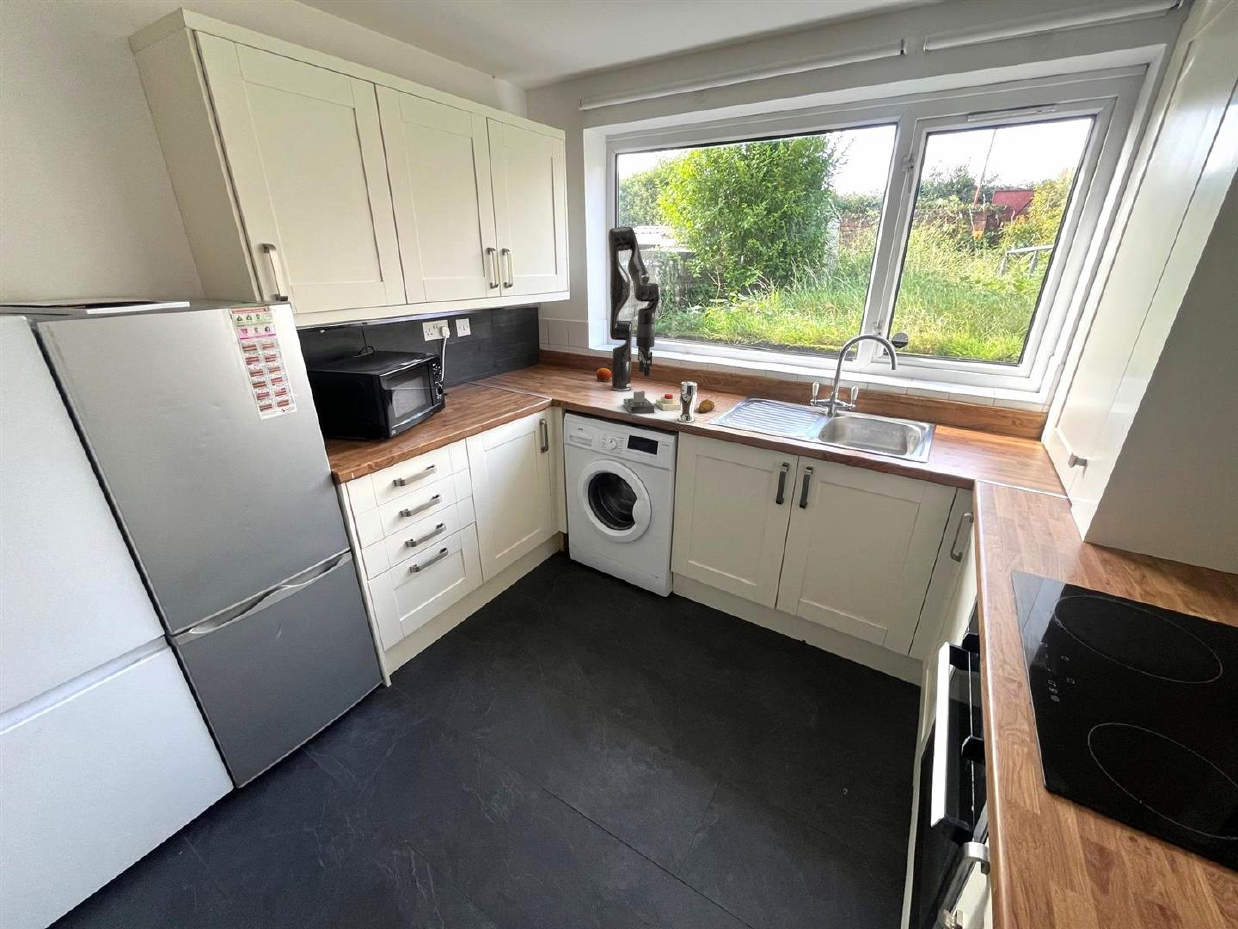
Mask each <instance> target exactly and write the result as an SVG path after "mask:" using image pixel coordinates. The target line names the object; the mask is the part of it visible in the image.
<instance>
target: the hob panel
mask: <svg viewBox="0 0 1238 929" xmlns="http://www.w3.org/2000/svg"><path fill="white" fill-rule="evenodd" d="M623 406H624V408H625V409H626V410H627V411H628V412H629V413H630V414H632V415H634V414H654V413H655V405H654V404H653V403H652V402H651V401H650V400H648V399H647V397H645V398H644V402H641V403H634V402H633V397H632V398H623Z"/></svg>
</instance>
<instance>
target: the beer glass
mask: <svg viewBox="0 0 1238 929" xmlns="http://www.w3.org/2000/svg"><path fill="white" fill-rule="evenodd" d="M678 397H679V398H678V399H679V404H680V411H679V416H678V420H679V422H680V421H681V422H683V423H692V422H694V421H695V415H694V412H695V407H696V403H697V399H698V398H697V397H698V383H697V382H695V381H681V382H680V386H679V396H678Z"/></svg>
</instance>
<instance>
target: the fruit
mask: <svg viewBox="0 0 1238 929" xmlns="http://www.w3.org/2000/svg"><path fill="white" fill-rule="evenodd" d="M595 374H596V379H597V381H598V382H605V383H607V382H608V381H609V380H610V379H611V378H612V371H611V370H610V369H608V368H607V367H606V368H605V367H601V368H599V369H597V370H596V373H595Z"/></svg>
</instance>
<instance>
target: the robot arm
mask: <svg viewBox="0 0 1238 929" xmlns="http://www.w3.org/2000/svg"><path fill="white" fill-rule="evenodd" d="M607 242H608V254H609V255H608V256H609V297H610V299H609V300H610V316H609V317H610V320H609V336H610V339H611V340H614V341H624V343H622V344H621V345H619V346H615V347H613V349H612V361H611V362H612V368H611V370H612V371H611V373H612V374H611V379H612V380H611V390H613V391H617V392H627V391H630V390H631V388H632V387H631V385H632V383H631V382H632V347H633V346H632V345H633V343H632V342H633V331H634V327H633V326H634V325H633V322H632V321H631V320H625V319H624V320H621V319H620V320H618V316H619V314H620V312H622V310H623V307H625V305H626V303H627V302H628V301H629V299H630V296H631V281H632V285H633V286H632V287H633V296H634V298H635V300H636V301H638V302H642V303H647V305H646V306H644V307H641V308H639V309H638V310H637V324H636V337H635V338H636V339H635V341H636V342H635V345H636V347H637V361H638V372H639V373H643V376H644V377H650V373H651V367H653V351H651V348H654V347H655V341H656V324H655V323H656V312H657V310H658V309H657V308H658V305H659V302H660V299H661V296H662V291H661V290H662V289H661V287H660V285H659V284H658V283H656V282H649V281H650V278H651V276H650V273H649V272H648V269H647V268H646V266H645V263H644V260H643V258H642V254H641V250H640V246H639V241H638V238H637V235H636V232H635V230H634V228H633V227H632V226H619V227H613V228H612V227H611V228H610V229H609V230H608V234H607ZM625 251H630V252H631V253H630V257H629V260H628V263H627V271H628V273H627V271H626V270H625V268H624V267H623V265H622V263H621V261H620V258H619V252H625ZM628 274H629V275H628Z"/></svg>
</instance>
